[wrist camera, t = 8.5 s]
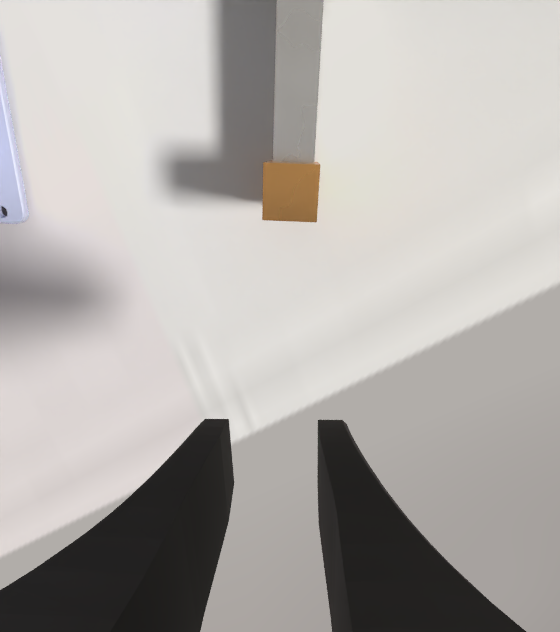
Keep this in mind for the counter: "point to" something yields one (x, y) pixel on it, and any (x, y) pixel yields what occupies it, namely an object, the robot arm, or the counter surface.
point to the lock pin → (294, 114)
